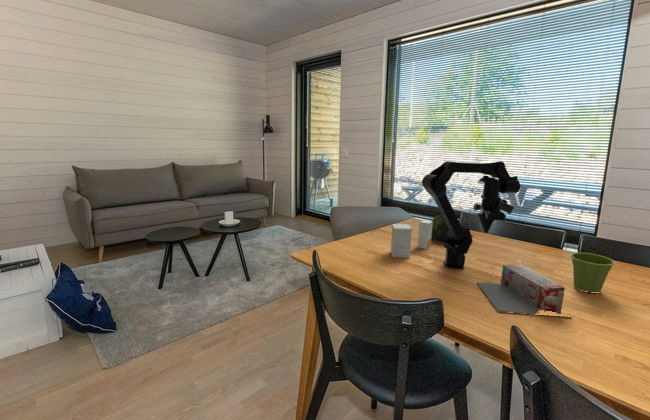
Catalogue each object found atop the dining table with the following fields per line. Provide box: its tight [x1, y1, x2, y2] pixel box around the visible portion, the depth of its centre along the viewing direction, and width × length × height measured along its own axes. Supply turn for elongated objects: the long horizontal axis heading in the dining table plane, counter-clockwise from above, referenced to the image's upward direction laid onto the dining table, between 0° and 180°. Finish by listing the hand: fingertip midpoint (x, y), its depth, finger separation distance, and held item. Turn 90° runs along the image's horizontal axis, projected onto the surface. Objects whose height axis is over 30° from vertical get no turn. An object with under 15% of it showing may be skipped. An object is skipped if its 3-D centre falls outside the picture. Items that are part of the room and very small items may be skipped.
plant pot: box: [570, 252, 616, 293], centre depth 116 cm, size 12×12×11 cm
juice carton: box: [500, 263, 566, 314], centre depth 109 cm, size 7×7×22 cm
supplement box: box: [390, 223, 413, 259], centre depth 146 cm, size 7×7×13 cm
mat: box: [476, 282, 545, 314], centre depth 109 cm, size 20×20×1 cm
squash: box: [431, 213, 462, 241], centre depth 170 cm, size 14×15×15 cm
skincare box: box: [416, 219, 433, 250], centre depth 157 cm, size 6×4×12 cm
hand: (485, 232), depth 136 cm, fingers closed
